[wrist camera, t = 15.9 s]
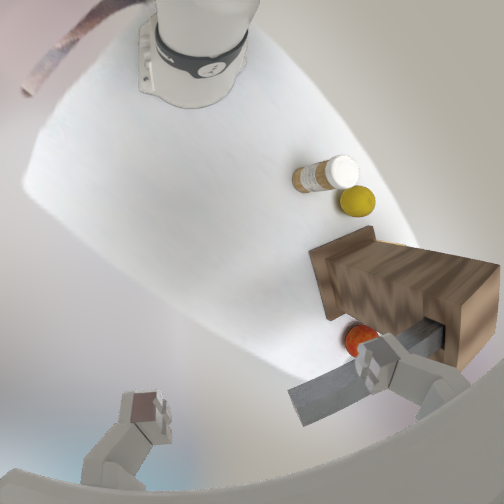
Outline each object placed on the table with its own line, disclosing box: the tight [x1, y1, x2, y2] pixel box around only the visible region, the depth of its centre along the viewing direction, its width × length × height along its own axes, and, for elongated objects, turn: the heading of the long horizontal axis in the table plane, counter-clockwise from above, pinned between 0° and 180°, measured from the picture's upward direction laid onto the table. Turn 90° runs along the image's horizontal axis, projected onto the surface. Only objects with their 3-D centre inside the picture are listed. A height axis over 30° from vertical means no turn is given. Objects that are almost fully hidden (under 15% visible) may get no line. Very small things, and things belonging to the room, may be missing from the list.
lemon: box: [340, 186, 375, 217], centre depth 45 cm, size 6×6×8 cm
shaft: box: [288, 317, 446, 427], centre depth 25 cm, size 3×24×3 cm, turn 109°
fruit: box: [345, 325, 379, 358], centre depth 50 cm, size 7×7×8 cm
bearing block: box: [309, 226, 500, 372], centre depth 37 cm, size 14×14×30 cm
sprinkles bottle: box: [292, 155, 359, 193], centre depth 40 cm, size 5×5×13 cm
